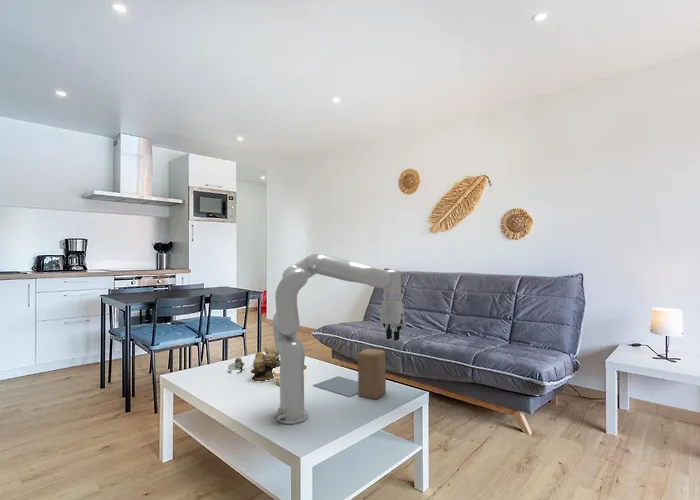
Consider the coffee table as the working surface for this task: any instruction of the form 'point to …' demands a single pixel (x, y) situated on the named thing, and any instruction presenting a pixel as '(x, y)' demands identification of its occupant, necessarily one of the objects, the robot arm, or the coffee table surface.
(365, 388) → the wooden block
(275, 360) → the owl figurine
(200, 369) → the coffee table surface
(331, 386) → the mat
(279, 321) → the robot arm
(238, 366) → the artificial flower
